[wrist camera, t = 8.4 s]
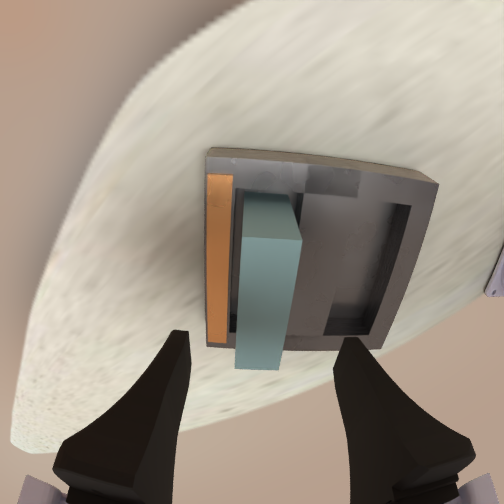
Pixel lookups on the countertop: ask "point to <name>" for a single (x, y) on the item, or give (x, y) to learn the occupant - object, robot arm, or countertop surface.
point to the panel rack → (319, 242)
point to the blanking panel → (266, 279)
